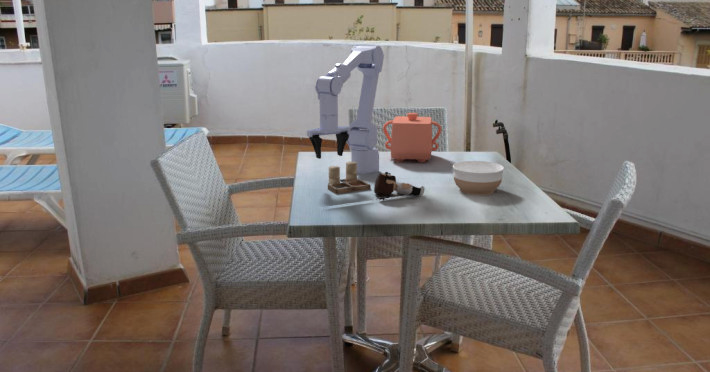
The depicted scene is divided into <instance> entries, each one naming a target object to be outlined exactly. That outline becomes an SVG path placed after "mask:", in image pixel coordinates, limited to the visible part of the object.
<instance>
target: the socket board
mask: <svg viewBox="0 0 710 372" xmlns="http://www.w3.org/2000/svg"><path fill="white" fill-rule="evenodd" d="M371 187H372V186H371V184H369V183H368V182H366V181H364V180H362V179H360V180H359V181H352V182H344V183H343V182H340V183H336V184H328V183H327V190H329V191H331V192H332V193H334V194H336V195H338V194H347V193H352V192H362V191H367V190H371Z"/></svg>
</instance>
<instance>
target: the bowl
mask: <svg viewBox="0 0 710 372" xmlns="http://www.w3.org/2000/svg"><path fill="white" fill-rule="evenodd" d="M452 169H453V175H452V176H453V181H454V184H455V185H456V186H457V187H458V188H459V191H460V192H461V193H463V194H467V195H471V196H487V195H488V196H489V195H493V194H494V192H495V191H496V190H497V189H498V188H499V187H500V185H501V183H502V181H503V172H504V170H505V167H504V166H503V165H501V164H499V163H496V162H490V161H486V160H485V161H483V160H463V161H459V162H455V163H454V164H453V165H452Z"/></svg>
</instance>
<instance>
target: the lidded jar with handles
mask: <svg viewBox="0 0 710 372" xmlns="http://www.w3.org/2000/svg"><path fill="white" fill-rule="evenodd" d="M406 115H407V116H402V115H400V116H398V115H397V116H394V118H393V120H392V119H391V120H387V121H386V122H385V123H384V124H383V127H382V131H383V134H384V135H385V137H386V139H387V141H385V144H384V147H385V149H386V150H390V156H391V157H390V158H391V159H395V162H397V163H399V162H400V163H402V162H405V160H416V161H417V162H418V163H427V160H428V161H429V160H431V157H432V151H433V152H435V151H438V149H439V148H440V147H439V146H440V145H439V143H437V140H438V139H439V137H440V136H441V134H442V132H443V131H442V126H441V124H439V123H438V122H437V121H434V120H432V117H431V116H419V113H417V112H407V113H406ZM389 125H392V126H391V136H390V134H389V133H388V130H387V127H388V126H389ZM433 126H436V127H437V129H438V130H437V133H436V134H435V136H434V137H433V128H432V127H433ZM389 144H390V145H389ZM434 146H435V147H434Z"/></svg>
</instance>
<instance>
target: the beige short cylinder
mask: <svg viewBox="0 0 710 372" xmlns="http://www.w3.org/2000/svg"><path fill="white" fill-rule="evenodd" d="M344 179H345V182H352V181H358V179H359V177H358V173H357V162H351V161H347V162H345V178H344Z"/></svg>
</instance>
